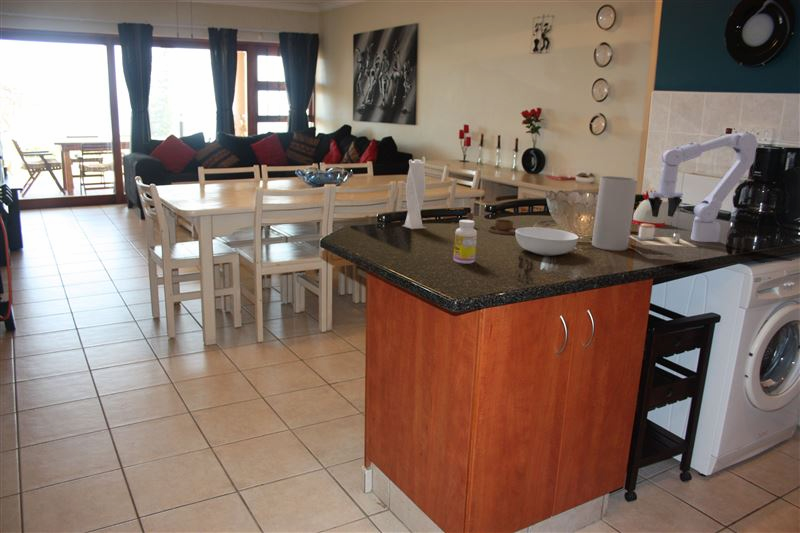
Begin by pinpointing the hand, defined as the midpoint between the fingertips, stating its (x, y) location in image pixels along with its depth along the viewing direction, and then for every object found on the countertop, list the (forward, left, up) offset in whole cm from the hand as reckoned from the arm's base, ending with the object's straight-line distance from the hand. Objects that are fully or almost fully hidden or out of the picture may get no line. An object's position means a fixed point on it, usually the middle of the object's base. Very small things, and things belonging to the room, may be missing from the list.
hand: (662, 216), depth 247 cm
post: (-1, +12, -8) cm, 14 cm away
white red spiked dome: (-11, -37, -10) cm, 40 cm away
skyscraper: (+96, -3, -10) cm, 97 cm away
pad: (+8, +6, -8) cm, 13 cm away
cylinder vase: (+26, +18, -10) cm, 33 cm away
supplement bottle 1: (+83, +49, -10) cm, 97 cm away
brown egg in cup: (+8, +6, -8) cm, 13 cm away
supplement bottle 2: (+11, -10, -10) cm, 18 cm away
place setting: (+63, -6, -10) cm, 64 cm away
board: (+3, +9, -9) cm, 13 cm away
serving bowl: (+53, +31, -10) cm, 62 cm away
